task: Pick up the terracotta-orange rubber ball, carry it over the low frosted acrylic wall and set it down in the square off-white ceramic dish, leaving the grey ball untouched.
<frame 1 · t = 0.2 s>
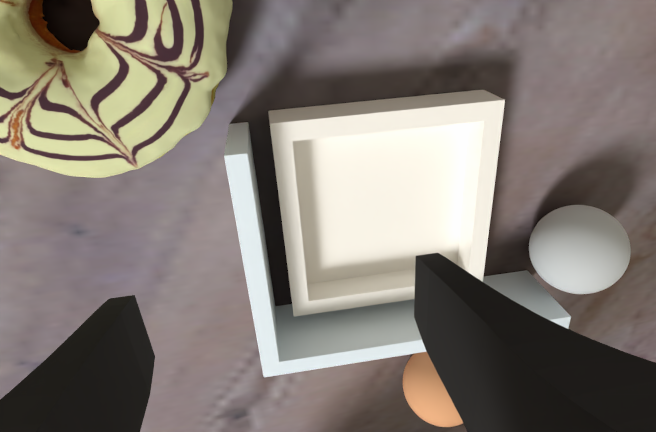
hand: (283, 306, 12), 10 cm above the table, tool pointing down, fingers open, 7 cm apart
grey ball: (551, 227, 24), on the table
terracotta ball: (428, 355, 27), on the table
decorated donut: (89, 13, 17), on the table
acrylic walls: (397, 294, 25), resting in ceramic dish
ceramic dish: (379, 198, 22), on the table
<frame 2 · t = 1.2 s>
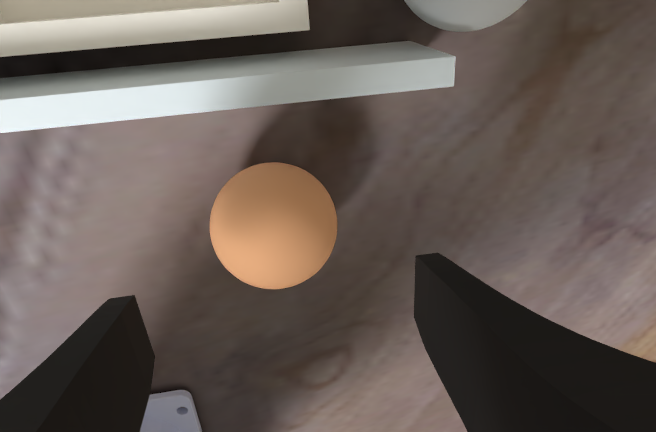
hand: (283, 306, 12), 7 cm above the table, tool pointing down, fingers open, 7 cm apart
terracotta ball: (272, 199, 18), on the table
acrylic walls: (194, 73, 15), resting in ceramic dish
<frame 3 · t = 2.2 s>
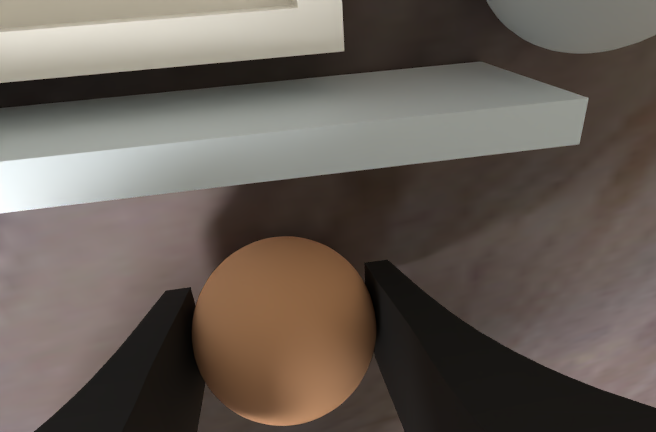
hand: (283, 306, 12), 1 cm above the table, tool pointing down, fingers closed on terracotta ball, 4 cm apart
terracotta ball: (280, 275, 13), on the table, touching gripper
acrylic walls: (169, 109, 10), resting in ceramic dish
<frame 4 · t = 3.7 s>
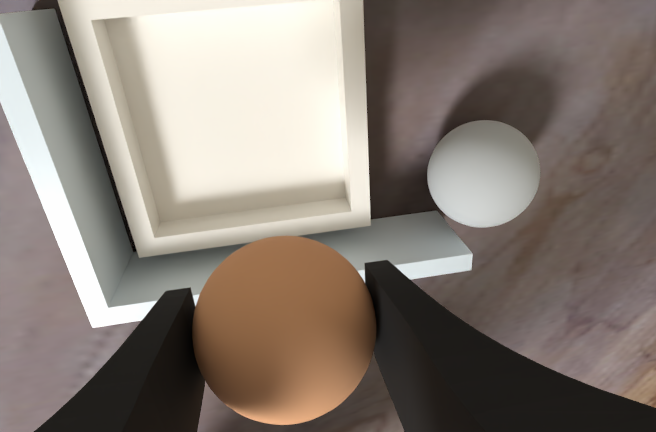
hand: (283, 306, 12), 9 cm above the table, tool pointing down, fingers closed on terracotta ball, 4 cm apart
grey ball: (460, 156, 21), on the table
terracotta ball: (282, 274, 13), point 8 cm above the table, touching gripper
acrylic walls: (282, 239, 21), resting in ceramic dish
ceramic dish: (240, 115, 18), on the table
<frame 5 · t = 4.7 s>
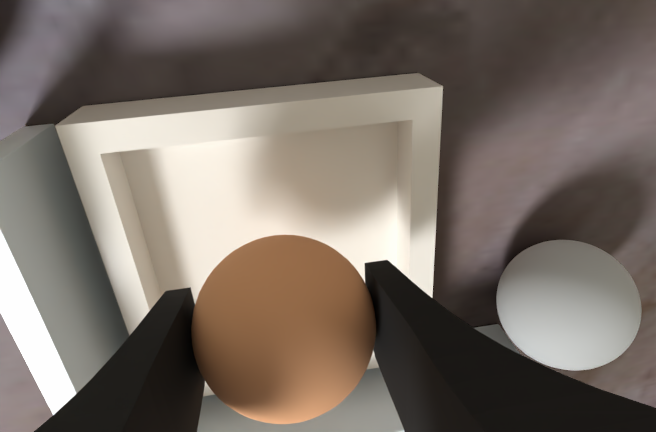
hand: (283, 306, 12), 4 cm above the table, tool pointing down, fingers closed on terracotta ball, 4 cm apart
grey ball: (529, 268, 18), on the table
terracotta ball: (281, 273, 13), point 3 cm above the table, touching gripper
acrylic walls: (319, 359, 18), resting in ceramic dish
ceramic dish: (276, 233, 15), on the table
when the fingers open (3 cm above the table, at t = 5.3 s): terracotta ball drops 1 cm, resting on ceramic dish.
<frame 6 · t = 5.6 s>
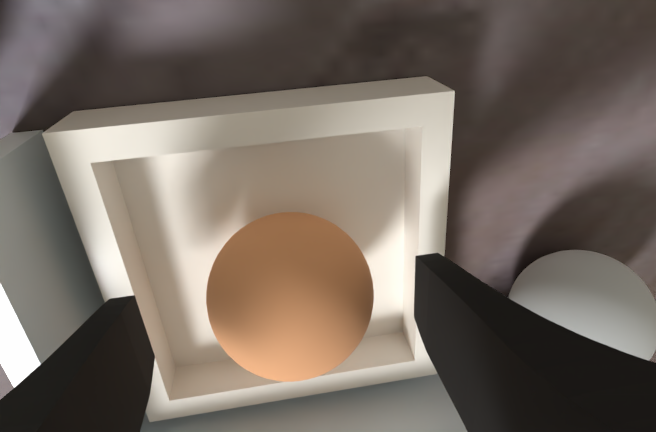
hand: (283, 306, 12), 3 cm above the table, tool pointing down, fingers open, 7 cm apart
grey ball: (540, 278, 17), on the table
terracotta ball: (278, 252, 14), point 1 cm above the table, tilted 6°, touching ceramic dish
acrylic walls: (322, 372, 17), resting in ceramic dish
ceramic dish: (277, 243, 15), on the table
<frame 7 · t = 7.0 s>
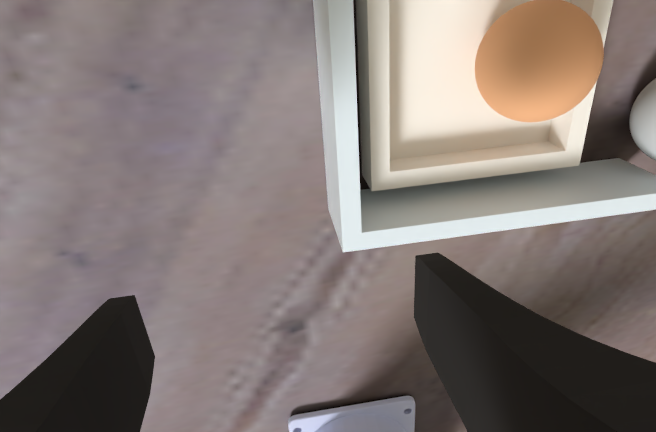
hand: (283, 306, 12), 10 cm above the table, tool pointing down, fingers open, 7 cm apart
grey ball: (650, 104, 22), on the table
terracotta ball: (480, 60, 18), point 1 cm above the table, tilted 39°, touching ceramic dish
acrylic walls: (477, 182, 22), resting in ceramic dish
ceramic dish: (467, 57, 19), on the table
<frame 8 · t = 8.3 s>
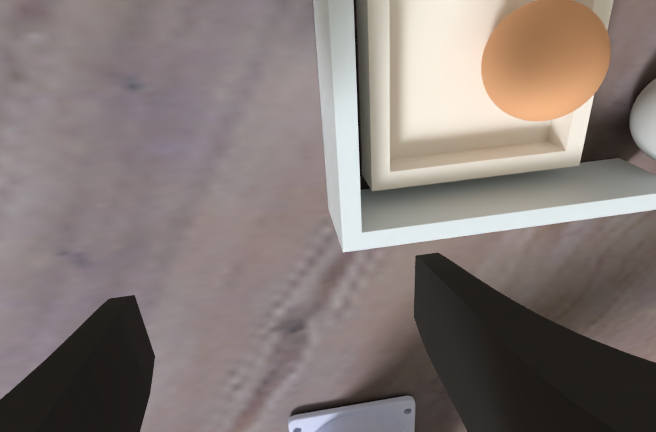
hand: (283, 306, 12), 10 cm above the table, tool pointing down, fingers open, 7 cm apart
grey ball: (650, 104, 22), on the table
terracotta ball: (484, 61, 18), point 1 cm above the table, tilted 46°, touching ceramic dish
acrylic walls: (477, 182, 22), resting in ceramic dish
ceramic dish: (467, 57, 19), on the table
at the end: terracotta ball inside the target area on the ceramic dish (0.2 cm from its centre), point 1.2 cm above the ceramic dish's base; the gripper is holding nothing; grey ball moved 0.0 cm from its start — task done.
